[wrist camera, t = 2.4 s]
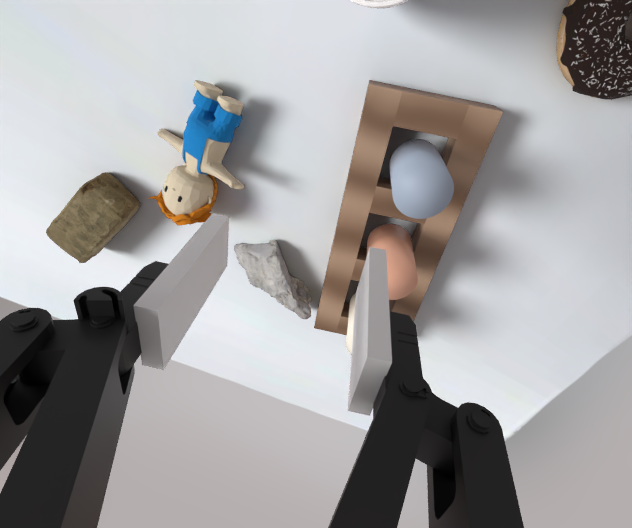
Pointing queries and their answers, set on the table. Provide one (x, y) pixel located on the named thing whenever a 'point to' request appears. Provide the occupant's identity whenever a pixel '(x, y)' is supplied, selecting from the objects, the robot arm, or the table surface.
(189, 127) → the toy
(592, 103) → the table surface
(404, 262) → the cap terracotta
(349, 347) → the white rounded cylinder
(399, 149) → the cap slate
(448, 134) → the wooden compartment tray
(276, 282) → the stone
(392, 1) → the mug
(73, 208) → the stone block
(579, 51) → the donut
